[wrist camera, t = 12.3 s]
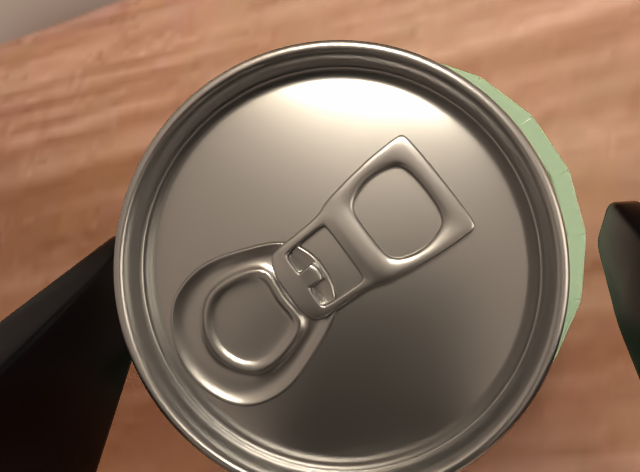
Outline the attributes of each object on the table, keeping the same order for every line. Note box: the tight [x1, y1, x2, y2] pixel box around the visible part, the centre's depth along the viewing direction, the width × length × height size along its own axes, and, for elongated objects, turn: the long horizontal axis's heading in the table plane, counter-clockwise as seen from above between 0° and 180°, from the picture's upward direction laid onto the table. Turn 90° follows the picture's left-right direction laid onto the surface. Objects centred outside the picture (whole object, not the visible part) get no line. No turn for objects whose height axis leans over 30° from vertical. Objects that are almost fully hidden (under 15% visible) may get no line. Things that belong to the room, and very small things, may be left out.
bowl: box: [437, 62, 586, 363], centre depth 16 cm, size 11×11×4 cm
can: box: [114, 40, 570, 472], centre depth 12 cm, size 6×6×12 cm
